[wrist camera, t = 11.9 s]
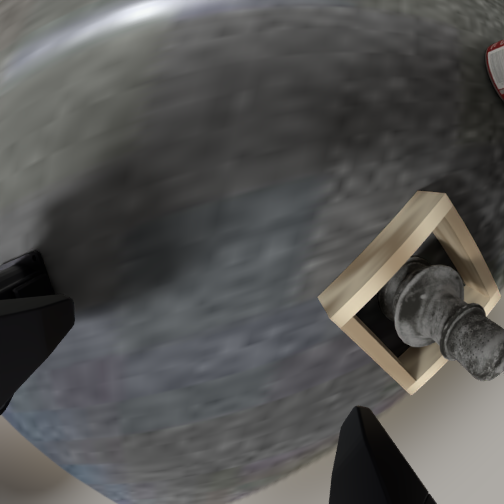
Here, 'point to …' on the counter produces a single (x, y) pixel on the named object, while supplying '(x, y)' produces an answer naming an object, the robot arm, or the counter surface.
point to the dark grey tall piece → (442, 317)
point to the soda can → (496, 66)
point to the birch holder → (389, 262)
